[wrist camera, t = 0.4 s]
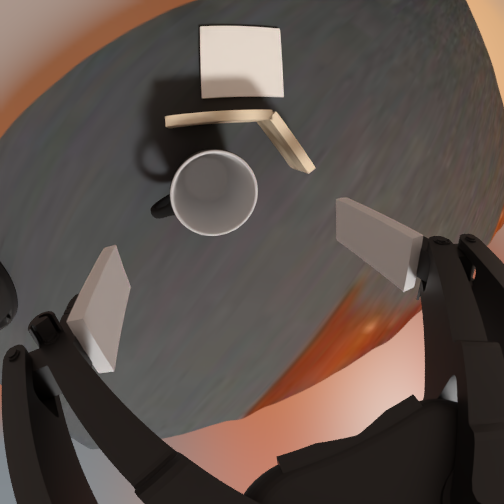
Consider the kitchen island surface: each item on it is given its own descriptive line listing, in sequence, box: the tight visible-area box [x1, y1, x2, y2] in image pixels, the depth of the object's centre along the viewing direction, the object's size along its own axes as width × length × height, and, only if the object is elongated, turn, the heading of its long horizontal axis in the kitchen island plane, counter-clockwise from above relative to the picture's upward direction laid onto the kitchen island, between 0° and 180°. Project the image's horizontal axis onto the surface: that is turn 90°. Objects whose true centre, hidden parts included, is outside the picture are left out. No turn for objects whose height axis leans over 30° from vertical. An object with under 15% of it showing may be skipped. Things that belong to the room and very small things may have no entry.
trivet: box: [200, 26, 284, 99], centre depth 29 cm, size 11×11×1 cm
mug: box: [151, 149, 258, 236], centre depth 31 cm, size 12×9×10 cm
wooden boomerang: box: [165, 110, 315, 174], centre depth 32 cm, size 18×8×6 cm, turn 92°
